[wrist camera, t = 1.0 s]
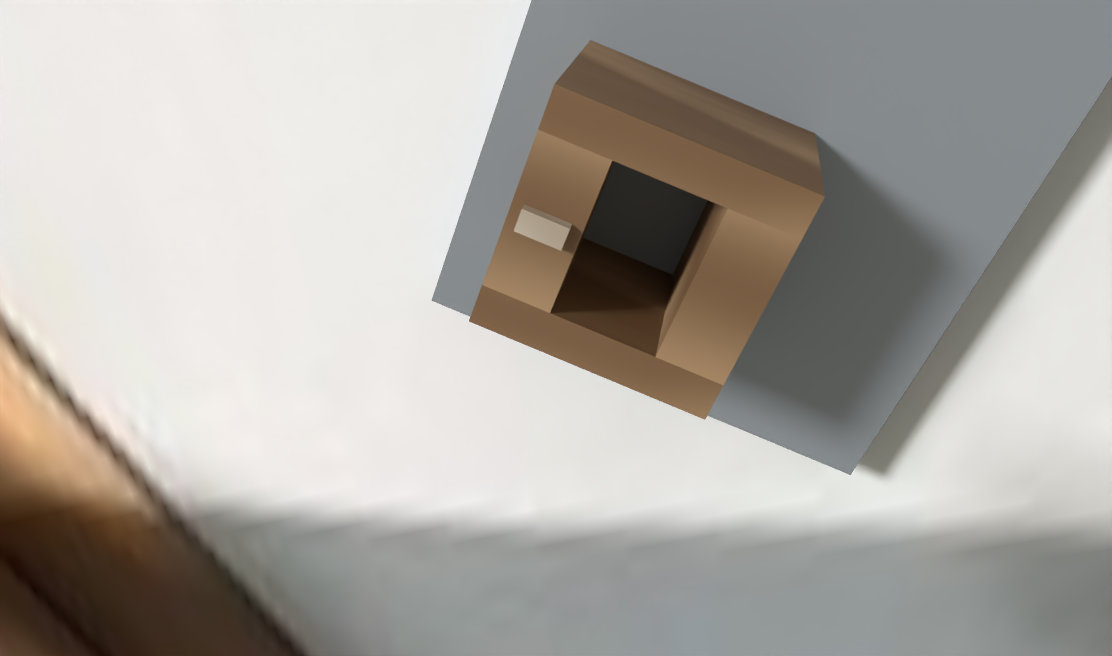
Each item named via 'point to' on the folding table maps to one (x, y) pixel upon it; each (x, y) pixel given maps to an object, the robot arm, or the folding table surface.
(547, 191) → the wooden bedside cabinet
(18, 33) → the folding table surface
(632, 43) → the shaft plate
